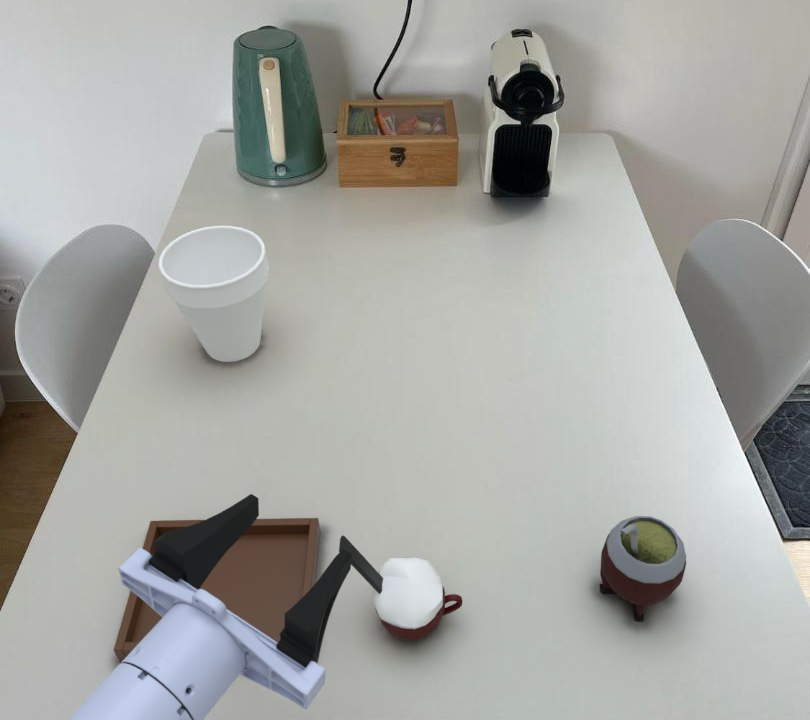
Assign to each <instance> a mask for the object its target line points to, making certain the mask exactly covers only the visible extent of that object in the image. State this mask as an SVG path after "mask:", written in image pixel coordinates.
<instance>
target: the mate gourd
mask: <svg viewBox="0 0 810 720" xmlns="http://www.w3.org/2000/svg"><path fill="white" fill-rule="evenodd" d="M600 554H601V555H600V570H599V572H600V578H601V582H602V583H599V592H600V594H604V595H618V596H619V597H620V598H622V599H623V600H624V601H626V602H629V603H631V609H632V614H633V619H634V622H638V623H639V622H640V623H641V622H644V620H645V614H644V612H645V611H646V610H647V609H648V607H649V606H652V605H655V604H657V603H659V602H662V601H664V600H666V599H667V598H668V597H670V595H672V593H674V591H676V589H678V587H680V585H681V583H682V582H683V579H684V575H685V571H686V567H687V554H686V549H685V545H684V542H683V540H682V538H680V536H679V535H678V533H677V532H676V530H675V529H674V528H673V527H672V526H670V524H668V523H666V522H664V520H662V519H659V518H656V517H653V516H651V515H650V516H649V515H634V516H633V517H629V518H626V519H622V520H620V522H618V523H617V524H616V525H615V526H614V527H613V528H611V529H610V532H609V533H608V534H607V536H606V539H605V541H604V545H603V547H602V550H601V553H600Z"/></svg>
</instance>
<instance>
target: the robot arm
mask: <svg viewBox="0 0 810 720" xmlns="http://www.w3.org/2000/svg"><path fill="white" fill-rule="evenodd" d="M259 506H260V504H259V497H257V496H255V495H254V494H252V493H250V494H248V495H247V496H246V497H243V498H242V499H241V500H239V501H238V502H236V503H235V504H233V505H231V506H230V507H228V508H226V509H224V510H223V511H221V512H218V513H217V514H215V515H212V516H210V517H208V518H206V519H203V520H204V521H201V522H199V523H196V524H194V525H191V526H188V527H184V528H181V529H177V530H172V531H168V532H165V533H164V534H163V535H161V536H160V537H159V538H158V539H157V540H156V541H155V542H154V548H155V555H154V556H153V557H152V555H151V554H150V553H149V552H147V551H146V550H144V549H143V547H141V546H139V547H138V548H137V549H136V550H135V551H134V552H133V553H132V554H131V555H130V556H129V557H128V558H127V559H126V560H125V561H123V562H122V564H120V565H119V567H118V568H117V569H118V573H119V577H120V580H121V584H122V586H124V587H125V588H127V589H128V590H129V591H132V592H133V593H135V594H136V595H137V596H139V597H140V598H141V599H142V600H143V601H144V602H146V603H147V604H148V605H149V606H150V607H151V608H152V609H154V610H155V611H156V612H157V613H158V614H159V615H160V616H161V617H163V618H162V619H161V620H160V621H159V622H158V623H157V624H156V625H155V626H154V627H153V629H152V630H151V631H150V632H149V633H148V634H147V635H146V636H145V637H144V638H143V639H142V640H141V641H140V643H139V644H138V645H137V646H136V647H135V648H134V649H133V650H132V651H131V652H130V653H129V654H128V656H127V657H126V658H125V659H124V660H123V661H122V662H119V664H118V665H117V666H116V667H115V668H114V669H113V670H112V671H111V672H110V673H109V675H108V676H106V678H105V679H104V680H103V681H102V682H101V683H100V685H99V686H97V688H95V689H94V691H93V692H92V693H91V694H90V695H89V696H88V697H87V698H86V700H85V701H83V703H82V704H80V706H79V707H78V708H77V709H76V710H75V711H74V712H73V713H72V714H71V715H70V717H69V718H68V719H67V720H205V719H206V717H207V716H208V715H209V714H210V712H211V711H212V710H213V708H214V707H215V706H216V705H217V703H218V702H219V701H220V700H221V699H222V697H223V695H225V694H226V692H227V691H228V690H229V688H231V686H232V685H233V684H234V682H235V681H236V680H237V679H238V678H239V676H242V677H244V678H245V679H248V680H250V681H252V682H254V683H256V684H258V685H260V686H262V687H264V688H266V689H268V690H270V691H272V692H275V693H276V694H278V695H280V696H282V697H284V698H286V699H288V700H290V701H291V702H293V703H295V704H296V705H297V706H300V707H301V708H302V709H303V710H308V708H309V707H310V705H311V704H312V703H313V702H314V700H315V699H316V697H317V696H318V694H319V693H320V691H321V690H322V688H323V687H324V686H325V683H326V678H327V677H326V676H327V674H326V673H327V672H326V671H327V670H326V668H325V667H324V666H322V665H320V664H319V658H320V652H321V649H322V644H323V640H324V636H325V632H326V629H327V625H328V622H329V618H330V615H331V613H332V609H333V606H334V604H335V601H336V599H337V597H338V595H339V592H340V590H341V588H342V586H343V584H344V582H345V580H346V578H347V577H348V575H349V573H350V571H351V568H352V565H351V560H352V554H351V553H349V552H348V551H346V550H344V549H343V550H342V551H341V552H338V553H337V554H336V555H335V556H334V558H333V559H332V560H331V562H330V563H329V565H328V566H327V568H326V569H325V570H324V572H323V573H322V574H321V576H320V577H319V579H318V580H316V583H315V585H314V586H313V587H312V588H311V589H310V590H309V591H308V592H307V593H306V594H305V595H304V596H303V597H302V598H301V599H300V600H299V601H298V602H297V603H296V604H295V605H294V606H293V607H292V608H291V609H289V610H288V611H287V612H286V613H285V623H284V629H283V630H282V631H281V633H280V634H279V635H280V641H279V642H276V641H274V640H273V639H271V638H270V637H268V636H267V635H265V634H264V633H262V632H261V631H259V630H258V629H256V628H255V627H253V626H252V625H250V624H249V623H247V622H246V621H244V620H243V619H241V618H240V617H238V616H237V615H235V614H234V613H232V612H231V611H229V610H228V609H226V606H225V605H224V603H223V602H222V601H220V600H219V599H217V598H216V597H214V596H213V595H211V594H210V593H208V592H207V591H205V590H203V589H200V587H201V586H202V584H203V583H204V581H205V580H206V578H207V577H208V575H209V574H210V573H211V571H212V570H213V569H214V567H215V566H216V565H217V563H218V562H219V561H220V559H221V558H222V557H223V556H224V554H225V553H226V552H227V551H228V550H229V549H230V548H231V547H232V545H233V544H234V543H235V542H236V541H237V540H238V539H239V538H240V537H241V536H242V535H243V534H244V533H245V532H246V531H247V530H248V529H249V528H250V526H251V525H252V524H253V523H254V521H255V520H256V519H258V517H259V516H260V513H259V512H260V509H259V508H260V507H259Z"/></svg>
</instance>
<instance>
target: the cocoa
mask: <svg viewBox="0 0 810 720" xmlns="http://www.w3.org/2000/svg"><path fill="white" fill-rule="evenodd" d="M343 549H344V550H346V551H348V552H349V553H351V554H352V560H351V567H353V568H354V569H355V570H356V572H357V573H359V574H360V576H361V577H362V578H363V579H364V580H365V581H366V582H367V583H368V584H369V585H370V586H371V588H372V589H371V595H372V601H373V606H374V609H375V612H376V614H377V616H378V618H379V620H380V622H381V624H382V626H383V627H384V628H385V630H387V631H388V632H389V633H390V634H392V635H393V636H394V637H396V638H397V639H400V640H405V641H410V642H413V641H416V640H421V639H425V638H427V637H428V636H430V635H431V634H432V633H433V632H435V631H436V630H437V628H438V626H439V624H440V622H441V621H442V618H443V617H445V616H447V615H449V614H451V613H454V612H455V611H457V610H459V609H461V607H462V606H463V598H462V596H461V595H460V594H457V593H451V594H450V593H449V594H446V592H445V591H446V590H445V587H444V585H443V581H442V579H441V577H440V575H439V574H438V571H436V569H435V568H434V566H433V564H432V563H431V561H430V560H429V559H421V558H419V557H416V556H415V557H407V558H405V557H404V558H403V557H389V558H388V559H387V560H386V561H385V562H384V563H382V564H381V567H380V569H379V572H378V571H377V570H376V568H374V566H373V565H372V564H371V563H370V562H369V561H368V560H367V558H366V557H365V556H364V555H363V554H362V553H361V552H360V551H359V550H358V549H357V548H356V547H355V545H354V544H353V543H352V542H351V541H350V540H349V539H348V538H347V536H345V535H344V534H343V535H341V536H340V538H339V545H338V553H340V552H341V551H342V550H343ZM450 602H455V603H453V604H451V605H448V606H446V604H448V603H450Z"/></svg>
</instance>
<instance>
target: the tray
mask: <svg viewBox="0 0 810 720" xmlns="http://www.w3.org/2000/svg"><path fill="white" fill-rule="evenodd" d="M319 519H320V518H319V517H293V518H292V517H290V518H285V517H284V518H283V517H282V518H257V519H256V520H255V521H254V523H253V524H252V525H251V526H250V528H249V529H248V530H247V531H246V532H245V533H244V534H243V535H242V536H241V537H240V538H239V539H238V540H237V541H236V542H235V543H234V544H233V545H232V547H231V548H230V549H229V550H228V551H227V552H226V553H225V554H224V556H223V557H222V558H221V559H220V561H219V562H218V563H217V565H216V566H215V567H214V569H213V570H212V571H211V573H210V574H209V575H208V577H207V578H206V580H205V581H204V583H203V584H202V586H201V587H200V589H203V590H205V591H207V592H208V593H210V594H211V595H213V596H214V597H216V598H217V599H219V600H220V601H222V602H223V603H224V605H225V606H226V609H228V610H229V611H231V612H232V613H234V614H235V615H237V616H238V617H240V618H241V619H243V620H244V621H246V622H247V623H249V624H250V625H252V626H253V627H255V628H256V629H258V630H259V631H261V632H262V633H264V634H265V635H267V636H268V637H270V638H271V639H273V640H274V641H276V642H279V641H280V635H279V634H280V633H281V631H282V630H283V629H284V623H285V613H286V612H287V611H288V610H289V609H291V608H292V607H293V606H294V605H295V604H296V603H297V602H298V601H299V600H300V599H301V598H302V597H303V596H304V595H305V594H306V593H307V592H308V591H309V590H310V589H311V588H312V587H313V586H314V585H315V584H316V582H317V572H318V562H319V561H318V560H319V553H320V552H319V551H320V541H321V532H322V531H321V526H320V520H319ZM204 520H205V519H175V520H173V519H172V520H171V519H170V520H167V519H166V520H165V519H164V520H150V521H149V525H148V529H147V531H146V535H145V539H144V542H143V545H142V548H143V549H144V550H146V551H147V552H149V553H150V554H151V555H152V557H153V556H154V555H155V548H154V542H155V541H156V540H157V539H158V538H159V537H160V536H161V535H163V534H164V533H165V532H168V531H172V530H177V529H181V528H184V527H188V526H191V525H194V524H196V523H199V522H201V521H204ZM162 618H163V617H161V616H160V615H159V614H158V613H157V612H156V611H155V610H154V609H152V608H151V607H150V606H149V605H148V604H147V603H146V602H144V601H143V600H142V599H141V598H140V597H139V596H137V595H136V594H135V593H133V592H132V591H131V590H129V596H128V598H127V602H126V605H125V609H124V613H123V615H122V619H121V623H120V627H119V630H118V634H117V637H116V640H115V644H114V647H113V652H114V655H115V656H116V658H117V660H118V662H119V663H121V662H122V661H123V660H124V659H125V658H126V657H127V656H128V654H129V653H130V652H131V651H132V650H133V649H134V648H135V647H136V646H137V645H138V644H139V643H140V641H141V640H142V639H143V638H144V637H145V636H146V635H147V634H148V633H149V632H150V631H151V630H152V629H153V627H154V626H155V625H156V624H157V623H158V622H159V621H160V620H161V619H162Z"/></svg>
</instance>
